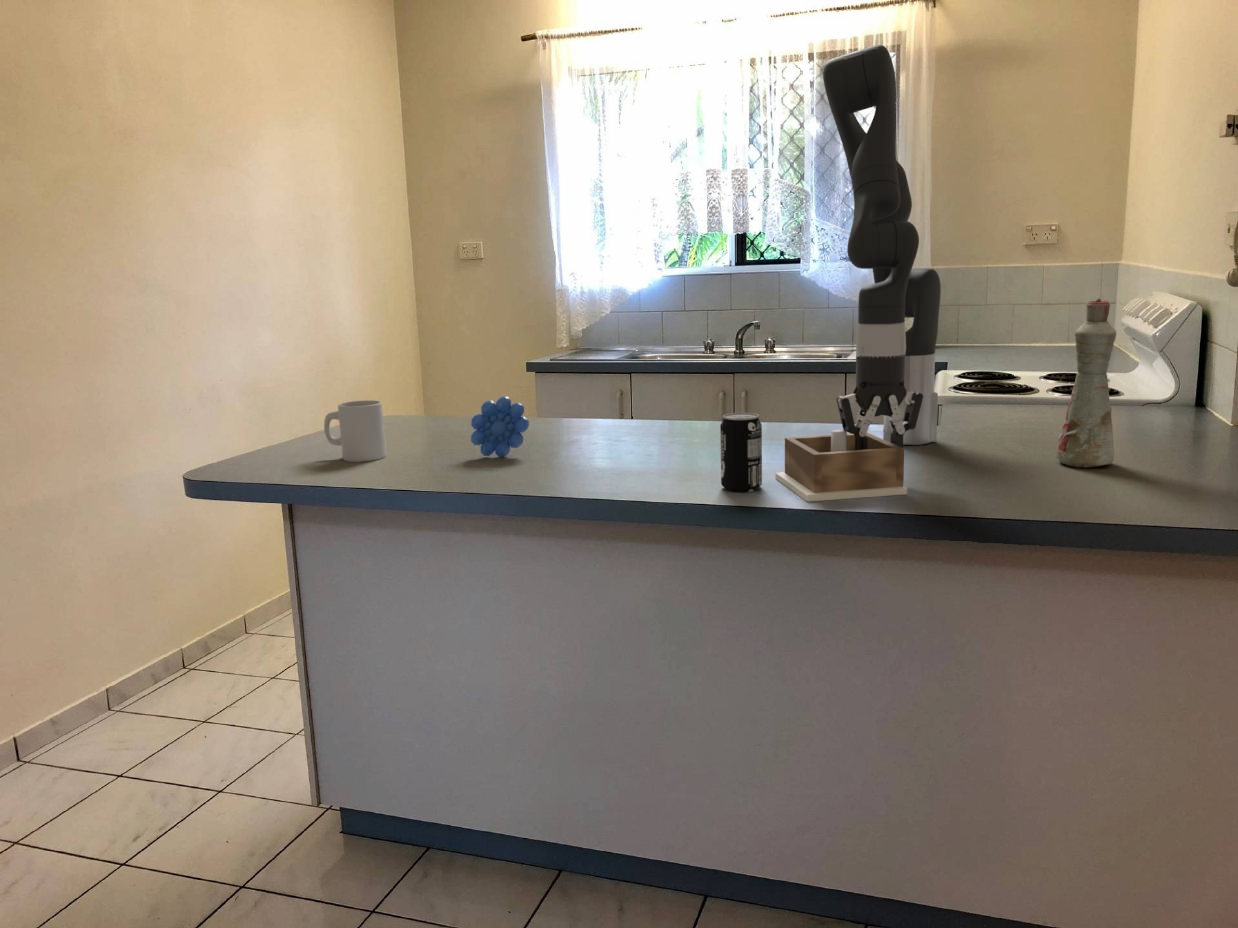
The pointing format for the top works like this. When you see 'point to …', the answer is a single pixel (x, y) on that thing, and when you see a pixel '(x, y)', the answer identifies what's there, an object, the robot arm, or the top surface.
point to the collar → (843, 464)
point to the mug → (359, 430)
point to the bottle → (1090, 394)
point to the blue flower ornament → (499, 427)
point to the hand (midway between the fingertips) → (878, 456)
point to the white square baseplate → (836, 445)
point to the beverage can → (741, 452)
